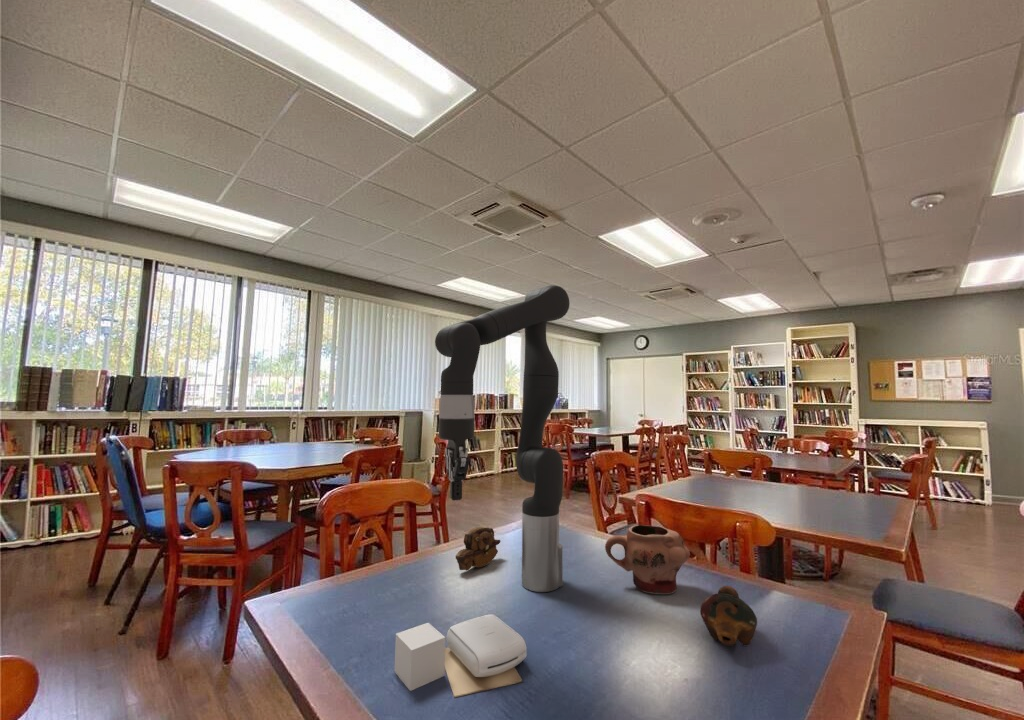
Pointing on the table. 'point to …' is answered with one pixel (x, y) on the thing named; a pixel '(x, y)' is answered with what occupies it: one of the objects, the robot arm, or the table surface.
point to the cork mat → (468, 683)
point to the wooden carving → (477, 548)
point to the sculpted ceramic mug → (651, 557)
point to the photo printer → (486, 645)
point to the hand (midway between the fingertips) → (455, 499)
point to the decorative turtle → (728, 617)
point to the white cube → (419, 655)
